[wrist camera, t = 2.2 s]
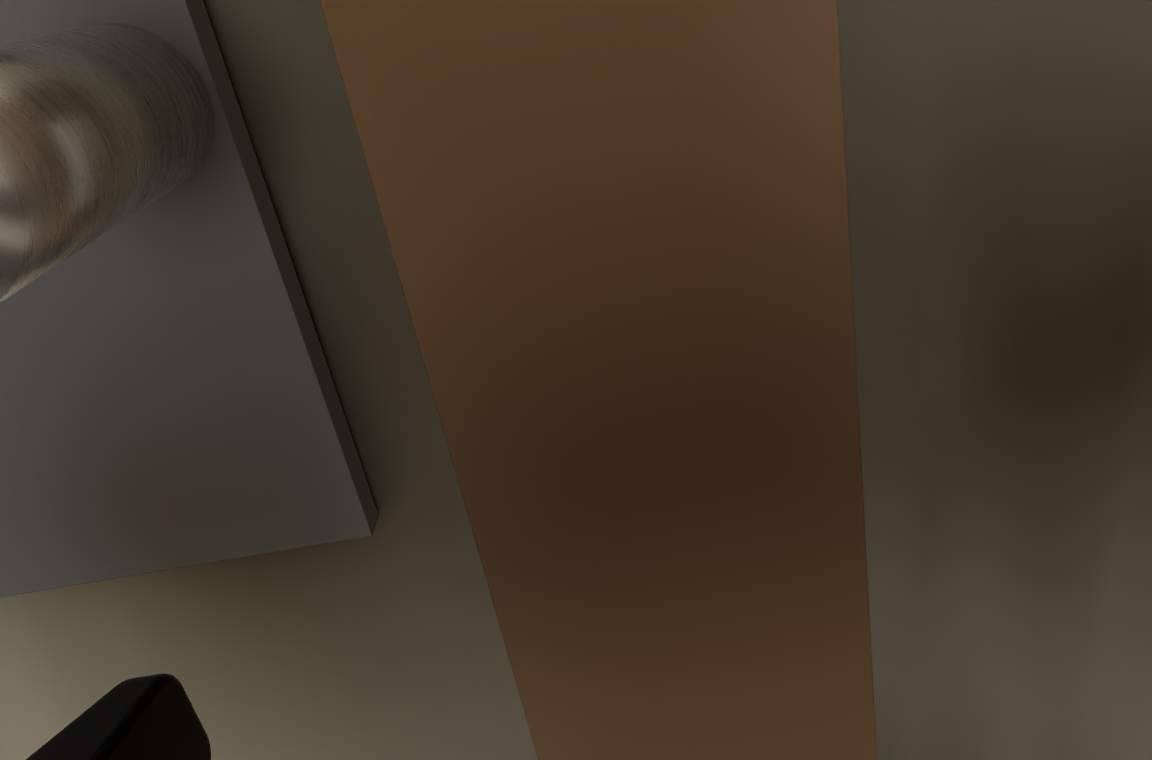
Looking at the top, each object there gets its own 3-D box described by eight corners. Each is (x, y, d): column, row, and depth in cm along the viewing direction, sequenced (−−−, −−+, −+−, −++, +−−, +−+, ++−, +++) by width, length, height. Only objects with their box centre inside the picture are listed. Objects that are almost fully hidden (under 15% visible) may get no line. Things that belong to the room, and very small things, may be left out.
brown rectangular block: (278, -434, 8) (-241, -1117, 3) (709, -538, 8) (1017, -1495, 3) (537, 575, 13) (522, 1001, 8) (805, 531, 13) (974, 942, 8)
